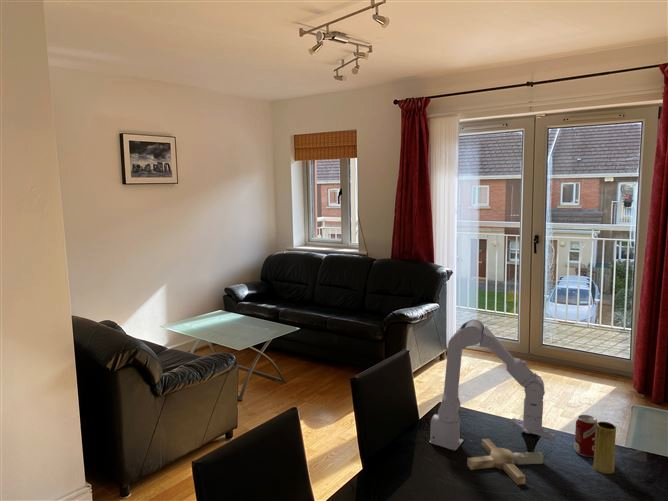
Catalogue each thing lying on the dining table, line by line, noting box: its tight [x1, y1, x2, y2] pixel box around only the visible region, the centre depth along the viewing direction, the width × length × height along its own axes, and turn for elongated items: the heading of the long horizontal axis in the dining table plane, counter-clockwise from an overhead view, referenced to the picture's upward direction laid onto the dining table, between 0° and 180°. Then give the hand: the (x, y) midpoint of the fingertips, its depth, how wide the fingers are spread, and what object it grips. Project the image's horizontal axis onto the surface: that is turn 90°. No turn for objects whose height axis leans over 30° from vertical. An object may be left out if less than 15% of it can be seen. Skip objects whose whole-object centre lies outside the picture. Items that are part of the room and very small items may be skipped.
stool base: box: [466, 438, 526, 486], centre depth 157 cm, size 15×22×4 cm, turn 10°
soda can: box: [573, 414, 598, 458], centre depth 163 cm, size 7×7×12 cm
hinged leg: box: [512, 451, 545, 465], centre depth 159 cm, size 9×2×3 cm, turn 93°
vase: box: [592, 421, 617, 475], centre depth 154 cm, size 6×6×14 cm
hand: (530, 453), depth 161 cm, fingers closed
